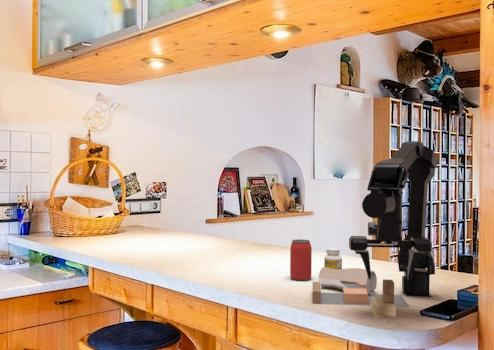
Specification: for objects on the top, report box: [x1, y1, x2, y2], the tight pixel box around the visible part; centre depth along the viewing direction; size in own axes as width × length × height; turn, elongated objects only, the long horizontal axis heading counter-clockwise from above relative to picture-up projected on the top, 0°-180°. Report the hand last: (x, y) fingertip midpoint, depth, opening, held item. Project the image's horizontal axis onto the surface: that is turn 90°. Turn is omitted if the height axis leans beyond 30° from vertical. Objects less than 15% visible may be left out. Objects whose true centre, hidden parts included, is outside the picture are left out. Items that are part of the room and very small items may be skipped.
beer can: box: [289, 238, 313, 282], centre depth 165 cm, size 7×7×12 cm
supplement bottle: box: [323, 247, 343, 269], centre depth 164 cm, size 5×5×10 cm
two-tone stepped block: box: [370, 279, 397, 319], centre depth 127 cm, size 5×9×8 cm, turn 173°
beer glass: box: [318, 266, 378, 295], centre depth 149 cm, size 7×7×15 cm
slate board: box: [312, 281, 410, 308], centre depth 139 cm, size 24×12×3 cm, turn 83°
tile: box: [342, 288, 368, 304], centre depth 138 cm, size 6×6×2 cm
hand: (388, 279), depth 127 cm, fingers open, 9 cm apart
